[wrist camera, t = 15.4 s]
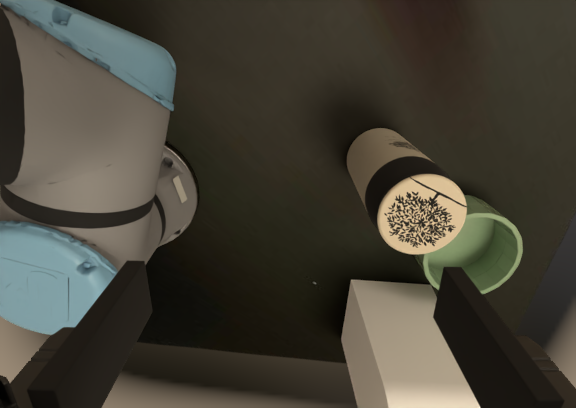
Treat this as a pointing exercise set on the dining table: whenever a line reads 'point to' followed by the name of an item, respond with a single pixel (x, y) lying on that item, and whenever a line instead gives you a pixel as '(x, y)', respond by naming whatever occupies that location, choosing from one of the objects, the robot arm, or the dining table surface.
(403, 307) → the milk
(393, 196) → the travel mug
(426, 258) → the pot
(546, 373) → the robot arm
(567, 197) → the dining table surface
